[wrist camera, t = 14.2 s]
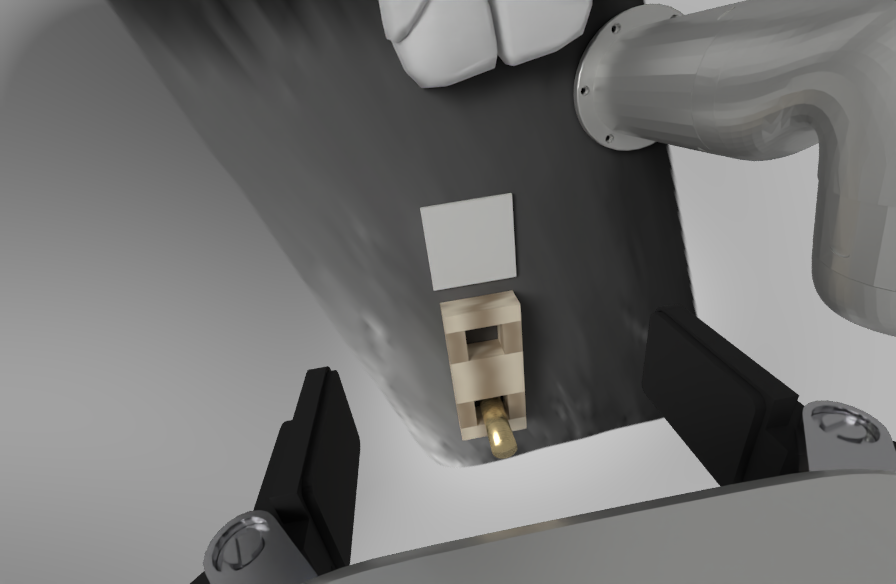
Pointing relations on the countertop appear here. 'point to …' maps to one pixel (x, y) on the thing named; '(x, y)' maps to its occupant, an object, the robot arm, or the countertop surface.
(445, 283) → the rubber mat
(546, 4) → the lung model
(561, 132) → the countertop surface
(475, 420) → the hole block
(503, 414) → the brass peg
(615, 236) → the countertop surface
